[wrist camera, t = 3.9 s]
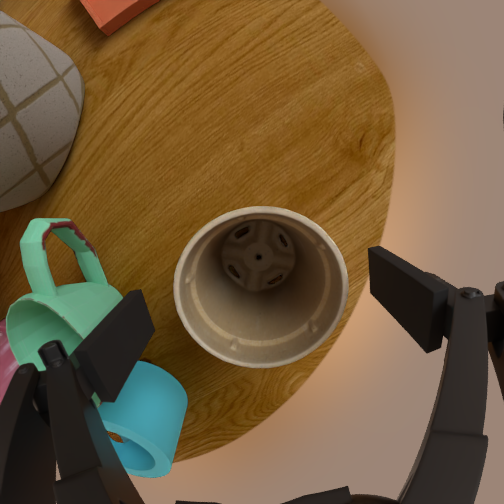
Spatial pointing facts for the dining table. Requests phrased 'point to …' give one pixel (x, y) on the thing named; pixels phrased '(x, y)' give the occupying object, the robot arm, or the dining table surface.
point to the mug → (57, 295)
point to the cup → (146, 420)
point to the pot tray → (114, 12)
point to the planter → (34, 112)
